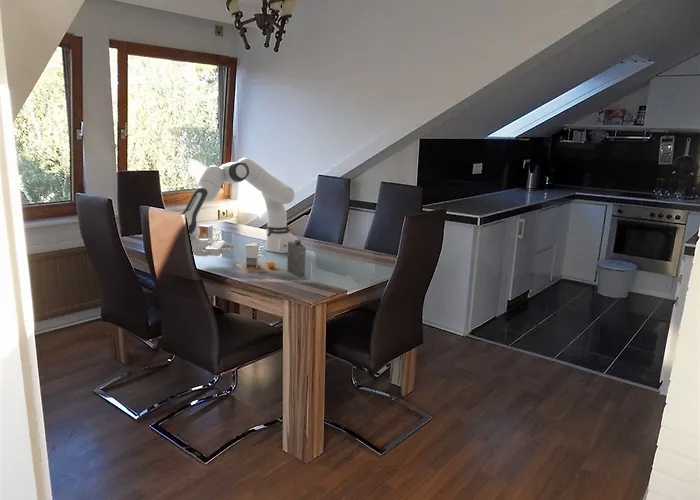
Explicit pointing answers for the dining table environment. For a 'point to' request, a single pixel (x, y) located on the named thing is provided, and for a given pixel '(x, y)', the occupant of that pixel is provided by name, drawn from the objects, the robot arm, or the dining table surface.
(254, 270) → the tan flat board
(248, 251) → the white carton
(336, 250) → the dining table surface
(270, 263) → the orange ball
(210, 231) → the small box
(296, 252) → the flask
